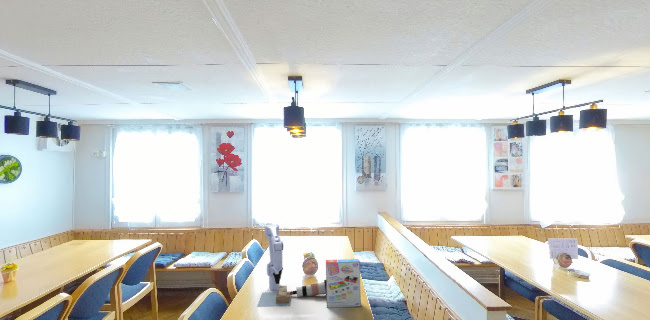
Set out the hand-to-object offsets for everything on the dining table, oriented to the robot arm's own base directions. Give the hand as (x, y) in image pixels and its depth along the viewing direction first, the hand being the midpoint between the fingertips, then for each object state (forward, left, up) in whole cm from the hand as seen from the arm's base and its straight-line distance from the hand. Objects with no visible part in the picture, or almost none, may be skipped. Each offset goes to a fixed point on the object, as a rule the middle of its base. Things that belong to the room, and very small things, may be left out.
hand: (278, 281), depth 212 cm
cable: (+1, +24, -10) cm, 26 cm away
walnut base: (+8, +4, -9) cm, 13 cm away
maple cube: (+8, +4, -5) cm, 10 cm away
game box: (+16, +41, -10) cm, 45 cm away
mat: (+5, -1, -10) cm, 11 cm away
